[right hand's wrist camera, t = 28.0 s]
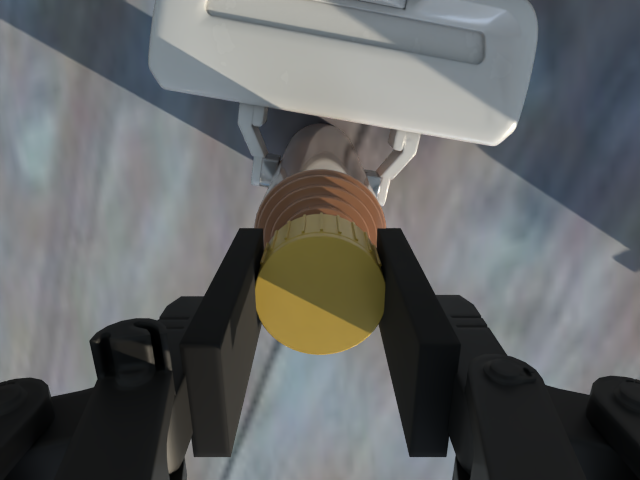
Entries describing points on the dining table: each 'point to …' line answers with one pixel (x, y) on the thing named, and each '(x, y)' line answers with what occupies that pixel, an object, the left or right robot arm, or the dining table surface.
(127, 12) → the dining table surface
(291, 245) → the cap
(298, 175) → the bottle
